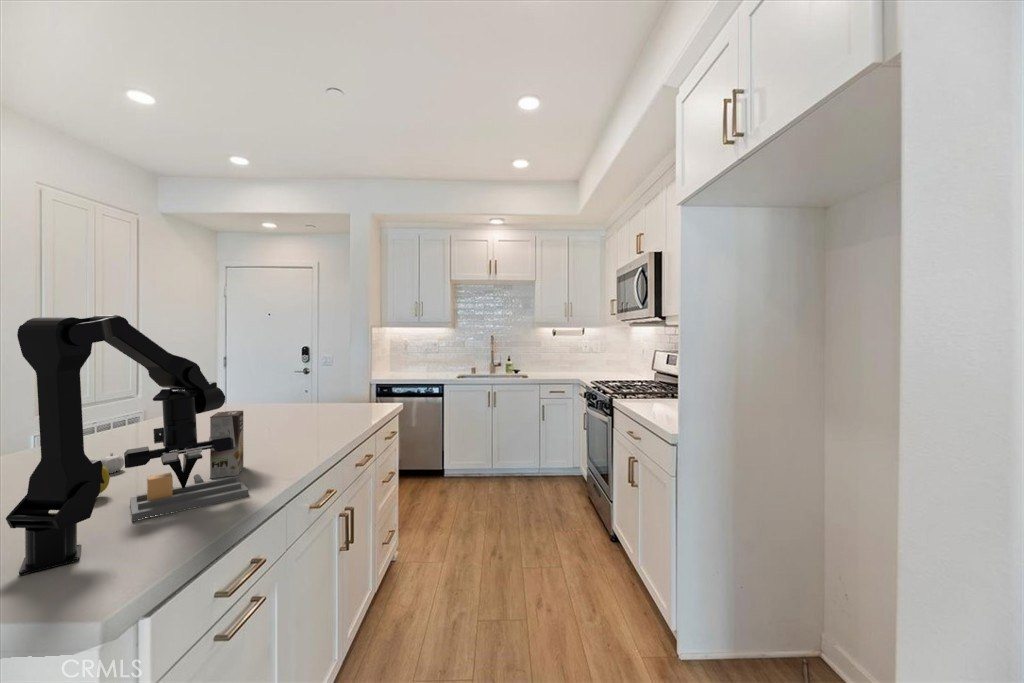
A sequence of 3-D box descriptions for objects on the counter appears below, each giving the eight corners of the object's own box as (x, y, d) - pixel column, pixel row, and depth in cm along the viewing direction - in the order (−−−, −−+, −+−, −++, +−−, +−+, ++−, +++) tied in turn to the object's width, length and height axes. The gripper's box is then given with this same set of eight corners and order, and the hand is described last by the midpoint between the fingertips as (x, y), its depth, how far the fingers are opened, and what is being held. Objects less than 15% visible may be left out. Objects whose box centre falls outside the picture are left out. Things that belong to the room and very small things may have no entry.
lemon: (88, 503, 93) (87, 467, 93) (68, 501, 94) (68, 465, 94) (116, 494, 98) (116, 460, 98) (97, 492, 100) (97, 458, 100)
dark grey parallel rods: (206, 489, 102) (206, 483, 102) (167, 497, 97) (167, 491, 97) (199, 478, 110) (199, 473, 110) (162, 485, 105) (162, 479, 105)
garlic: (105, 470, 117) (105, 451, 117) (129, 468, 119) (129, 449, 119) (91, 476, 111) (91, 457, 111) (116, 474, 113) (116, 455, 113)
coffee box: (238, 475, 112) (238, 415, 112) (209, 479, 109) (209, 417, 109) (244, 466, 120) (243, 409, 120) (217, 469, 118) (216, 411, 118)
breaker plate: (248, 495, 98) (248, 485, 98) (132, 521, 84) (131, 509, 84) (237, 483, 106) (237, 473, 106) (130, 504, 92) (129, 493, 92)
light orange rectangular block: (172, 498, 91) (172, 475, 91) (148, 503, 89) (148, 480, 89) (170, 494, 94) (170, 472, 94) (147, 499, 91) (147, 476, 91)
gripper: (223, 407, 106) (226, 469, 106) (122, 420, 93) (125, 490, 94) (232, 413, 98) (235, 480, 98) (122, 427, 85) (126, 504, 85)
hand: (183, 488), depth 94 cm, fingers closed
